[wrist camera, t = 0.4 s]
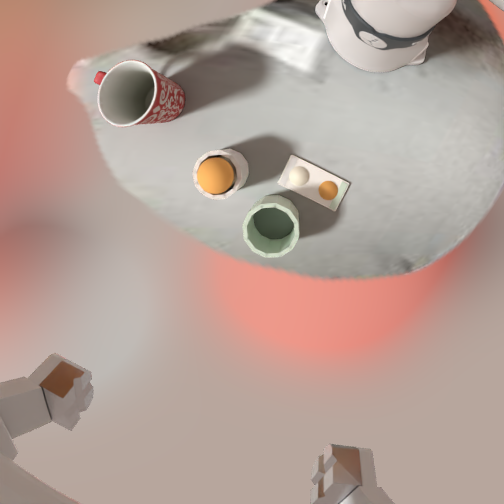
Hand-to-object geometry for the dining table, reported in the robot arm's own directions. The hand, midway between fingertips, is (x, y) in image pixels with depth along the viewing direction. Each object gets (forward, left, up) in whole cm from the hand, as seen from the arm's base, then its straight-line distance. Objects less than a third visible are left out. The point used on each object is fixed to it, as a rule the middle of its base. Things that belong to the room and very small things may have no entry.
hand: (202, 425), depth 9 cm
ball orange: (0, -9, -39) cm, 40 cm away
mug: (-7, -25, -44) cm, 51 cm away
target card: (-4, +4, -44) cm, 44 cm away
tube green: (+4, +1, -44) cm, 44 cm away
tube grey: (0, -9, -44) cm, 45 cm away
